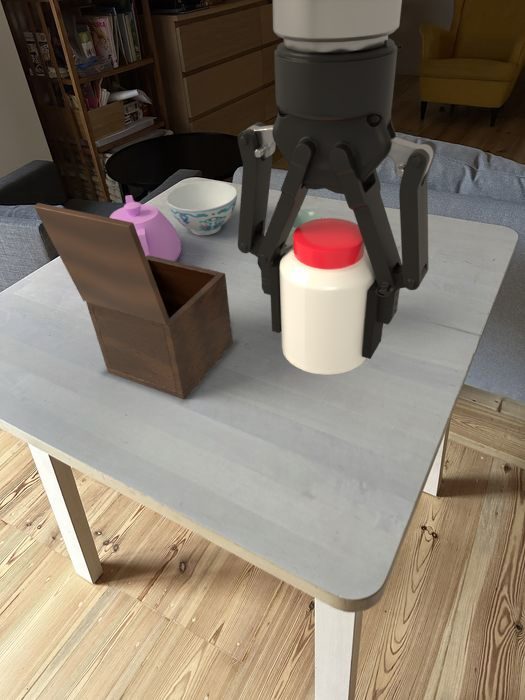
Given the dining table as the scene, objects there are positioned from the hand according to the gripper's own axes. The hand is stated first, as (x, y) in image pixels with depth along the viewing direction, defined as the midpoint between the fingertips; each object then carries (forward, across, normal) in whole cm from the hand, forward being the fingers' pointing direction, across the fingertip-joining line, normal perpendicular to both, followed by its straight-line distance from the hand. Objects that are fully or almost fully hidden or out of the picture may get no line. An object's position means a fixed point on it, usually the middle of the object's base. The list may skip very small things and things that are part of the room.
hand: (325, 335), depth 47 cm
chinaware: (+24, +50, -54) cm, 78 cm away
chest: (+24, +31, -14) cm, 42 cm away
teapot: (+24, +54, -37) cm, 70 cm away
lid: (+3, +31, -6) cm, 32 cm away
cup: (+24, +24, -47) cm, 58 cm away
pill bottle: (+1, 0, 0) cm, 1 cm away
